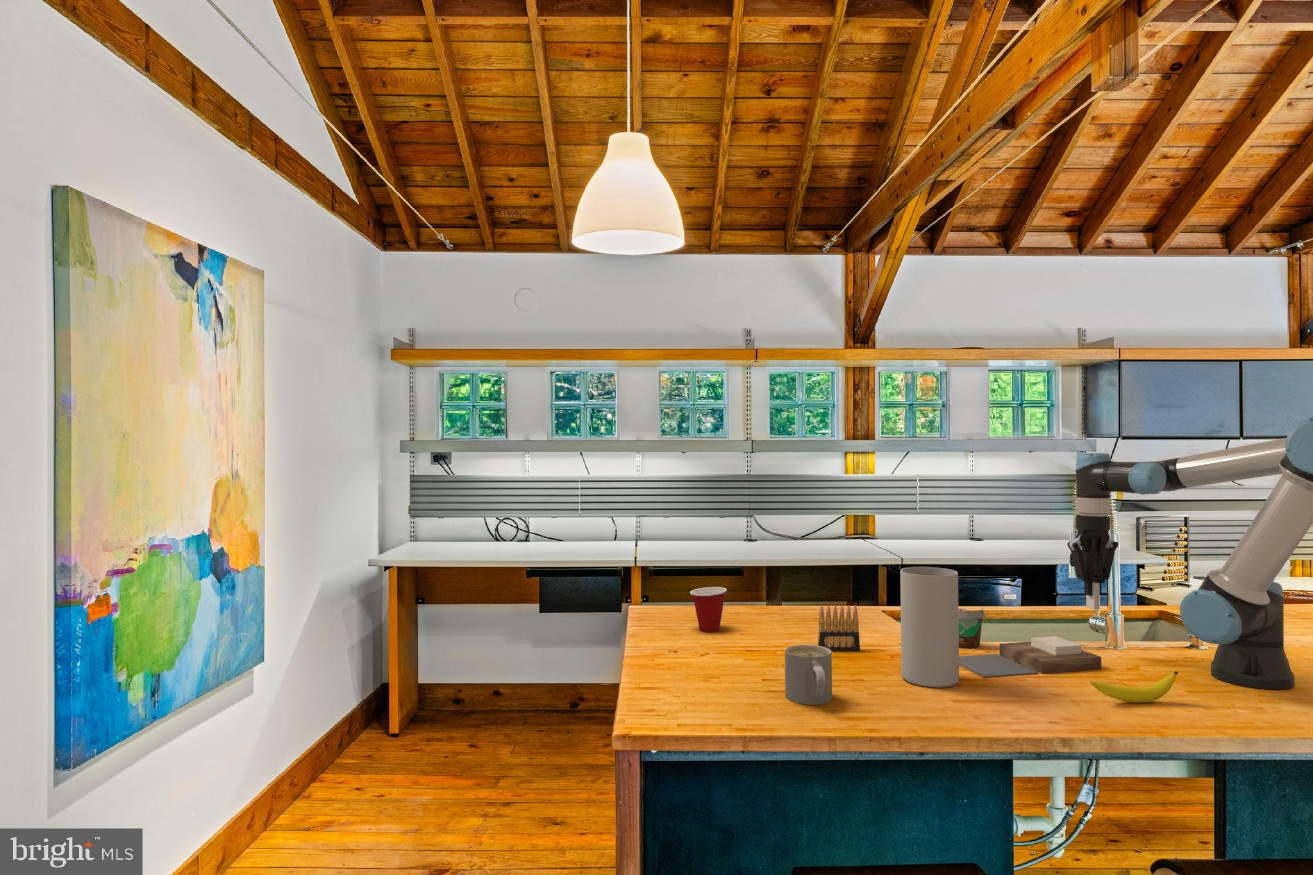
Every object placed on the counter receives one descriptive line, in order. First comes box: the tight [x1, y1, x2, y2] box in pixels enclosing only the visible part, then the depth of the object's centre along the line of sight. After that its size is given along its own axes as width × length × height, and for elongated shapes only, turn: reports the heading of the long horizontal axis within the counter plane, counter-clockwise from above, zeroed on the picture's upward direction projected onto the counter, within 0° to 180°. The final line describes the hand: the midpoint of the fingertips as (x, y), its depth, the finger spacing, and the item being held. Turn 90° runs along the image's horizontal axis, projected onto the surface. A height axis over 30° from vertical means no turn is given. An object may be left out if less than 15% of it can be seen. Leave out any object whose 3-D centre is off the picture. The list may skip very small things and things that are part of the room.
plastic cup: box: [689, 586, 727, 633], centre depth 227 cm, size 11×11×12 cm
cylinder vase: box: [899, 566, 960, 689], centre depth 178 cm, size 12×12×25 cm
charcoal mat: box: [959, 653, 1039, 679], centre depth 188 cm, size 16×14×1 cm
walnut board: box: [999, 641, 1102, 675], centre depth 191 cm, size 16×16×3 cm
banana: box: [1089, 671, 1179, 704], centre depth 161 cm, size 3×19×6 cm, turn 93°
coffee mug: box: [784, 644, 833, 706], centre depth 165 cm, size 13×10×10 cm
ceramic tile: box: [1030, 635, 1082, 655], centre depth 191 cm, size 9×7×2 cm
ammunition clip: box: [817, 604, 861, 653], centre depth 203 cm, size 11×2×12 cm, turn 88°
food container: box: [958, 608, 986, 650], centre depth 206 cm, size 12×6×10 cm, turn 62°
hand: (1092, 608), depth 194 cm, fingers closed
